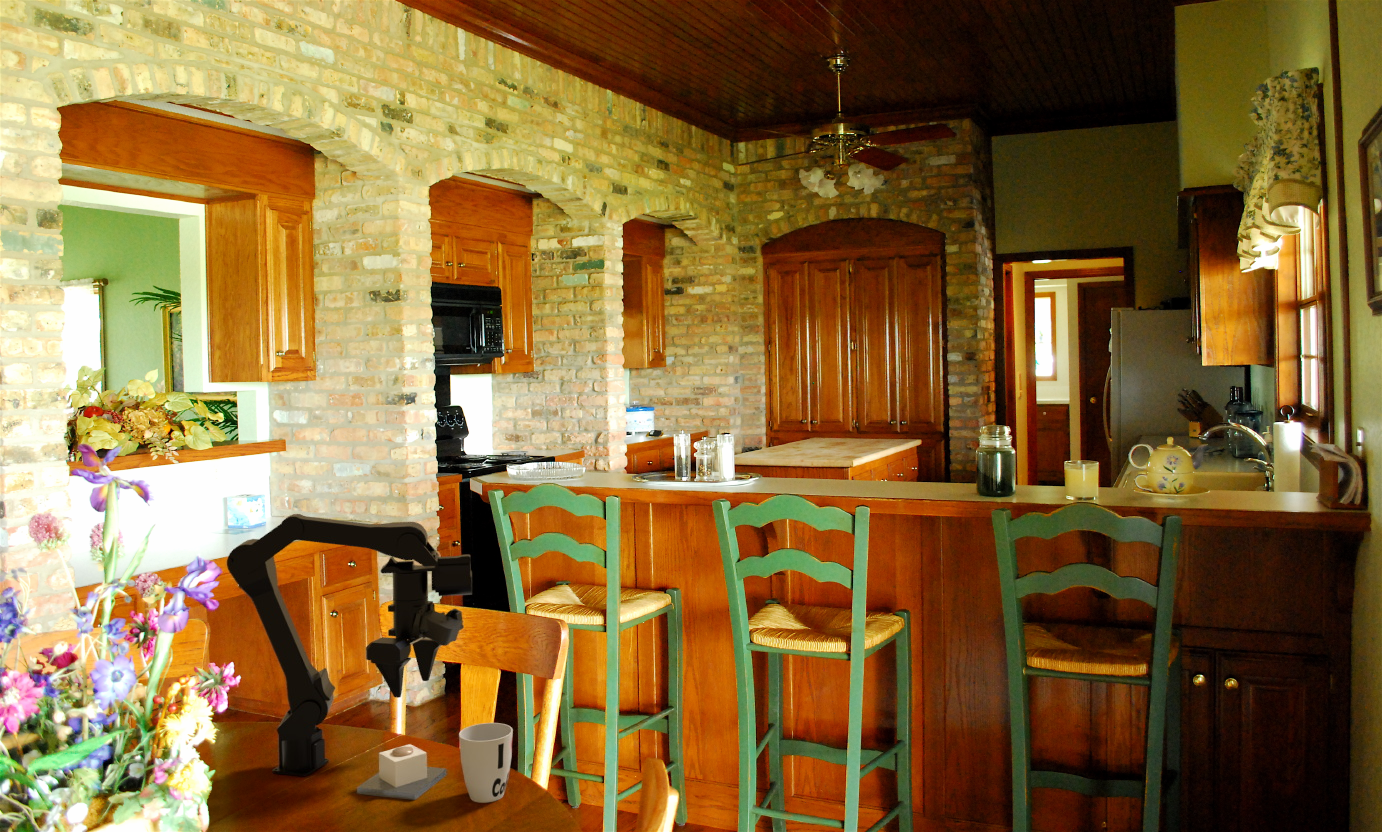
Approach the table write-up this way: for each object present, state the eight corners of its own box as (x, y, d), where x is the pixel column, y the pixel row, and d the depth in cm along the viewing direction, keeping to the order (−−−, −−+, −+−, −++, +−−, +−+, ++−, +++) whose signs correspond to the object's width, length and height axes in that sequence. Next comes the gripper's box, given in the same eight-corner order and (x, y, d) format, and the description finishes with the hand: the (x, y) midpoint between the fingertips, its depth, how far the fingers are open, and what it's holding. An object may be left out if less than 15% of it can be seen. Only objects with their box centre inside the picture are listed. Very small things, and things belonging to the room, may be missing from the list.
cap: (395, 787, 152) (395, 759, 152) (379, 777, 156) (378, 750, 156) (427, 777, 156) (426, 750, 156) (410, 768, 160) (409, 741, 160)
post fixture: (357, 793, 152) (356, 768, 152) (391, 769, 162) (391, 745, 162) (415, 799, 150) (414, 774, 150) (446, 774, 159) (446, 750, 159)
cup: (501, 808, 146) (500, 742, 146) (450, 804, 148) (449, 739, 148) (521, 787, 154) (520, 724, 154) (473, 783, 156) (472, 721, 156)
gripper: (425, 612, 155) (427, 710, 155) (479, 588, 173) (480, 676, 173) (363, 608, 157) (364, 704, 158) (422, 585, 175) (423, 672, 176)
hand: (411, 688), depth 166 cm, fingers open, 9 cm apart
